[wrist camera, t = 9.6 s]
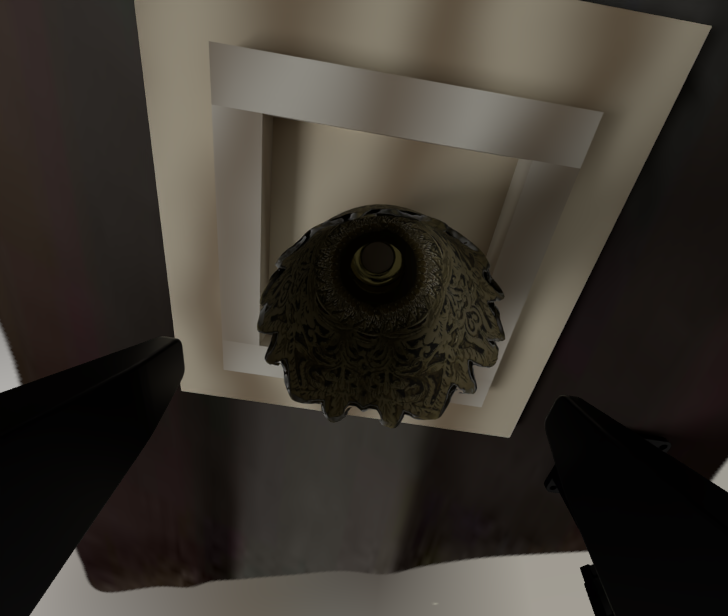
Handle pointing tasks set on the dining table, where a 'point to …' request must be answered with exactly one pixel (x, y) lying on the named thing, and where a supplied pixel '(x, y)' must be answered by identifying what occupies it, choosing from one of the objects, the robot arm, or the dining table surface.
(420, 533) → the dining table surface
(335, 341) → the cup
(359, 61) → the docking plate
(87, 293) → the dining table surface
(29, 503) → the robot arm
